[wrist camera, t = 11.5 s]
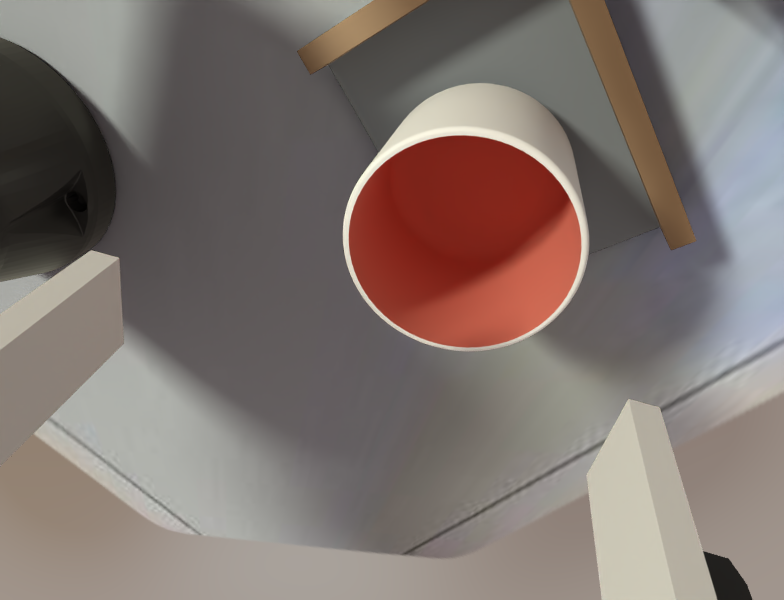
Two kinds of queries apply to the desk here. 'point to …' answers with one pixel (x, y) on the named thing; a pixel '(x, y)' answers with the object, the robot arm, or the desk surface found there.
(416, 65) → the mat
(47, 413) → the robot arm
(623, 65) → the walls
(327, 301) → the desk surface
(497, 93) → the cup
